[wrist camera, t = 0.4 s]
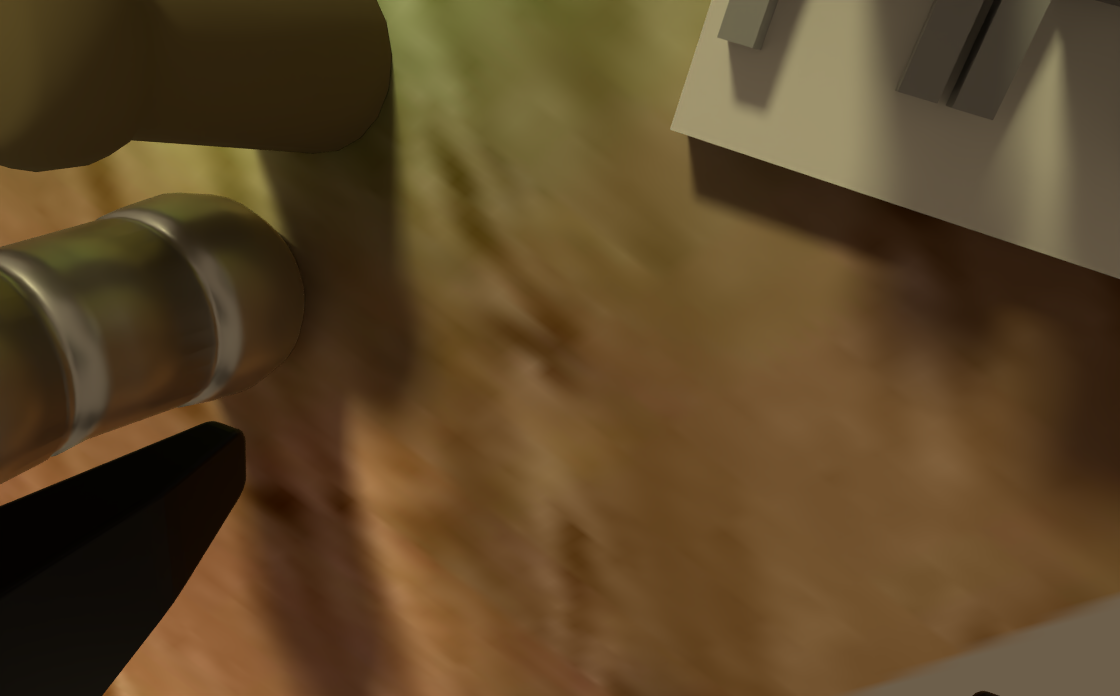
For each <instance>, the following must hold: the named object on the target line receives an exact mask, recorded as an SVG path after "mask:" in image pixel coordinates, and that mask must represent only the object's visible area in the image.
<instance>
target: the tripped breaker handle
mask: <svg viewBox="0 0 1120 696" xmlns="http://www.w3.org/2000/svg"><path fill="white" fill-rule="evenodd" d="M1096 1H1100V2H1104V3H1108V4H1111V5H1115V6H1119V7H1120V0H1096Z"/></svg>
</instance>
